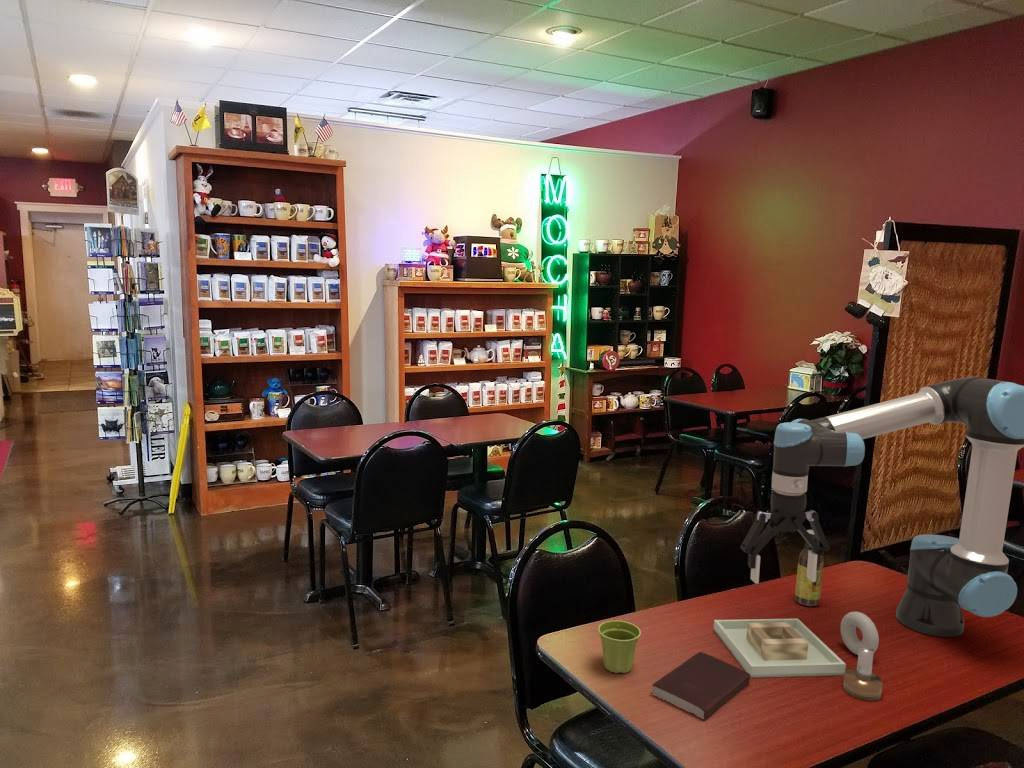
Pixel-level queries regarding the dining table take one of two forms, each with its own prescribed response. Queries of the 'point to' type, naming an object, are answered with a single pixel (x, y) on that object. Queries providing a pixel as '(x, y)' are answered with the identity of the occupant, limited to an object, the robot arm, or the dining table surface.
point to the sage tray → (817, 662)
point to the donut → (866, 628)
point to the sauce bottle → (806, 588)
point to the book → (701, 684)
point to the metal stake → (863, 678)
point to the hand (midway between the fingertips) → (782, 580)
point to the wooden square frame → (777, 641)
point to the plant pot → (618, 644)
